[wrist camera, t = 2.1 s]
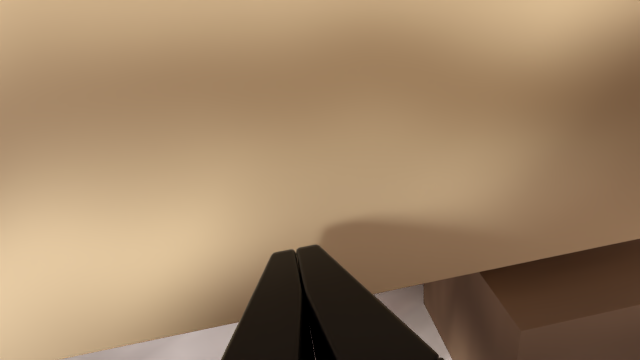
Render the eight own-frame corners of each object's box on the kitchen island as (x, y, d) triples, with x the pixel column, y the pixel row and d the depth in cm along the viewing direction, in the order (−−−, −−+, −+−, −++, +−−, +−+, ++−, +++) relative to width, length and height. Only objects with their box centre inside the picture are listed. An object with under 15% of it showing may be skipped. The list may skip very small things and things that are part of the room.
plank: (681, 210, 12) (744, 216, 10) (-138, 378, 10) (-216, 416, 8) (633, -98, 12) (690, -141, 10) (-215, 20, 10) (-311, -9, 8)
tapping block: (543, 276, 18) (668, 416, 13) (423, 302, 18) (502, 457, 12) (562, 167, 16) (725, 285, 10) (423, 194, 15) (521, 330, 10)
